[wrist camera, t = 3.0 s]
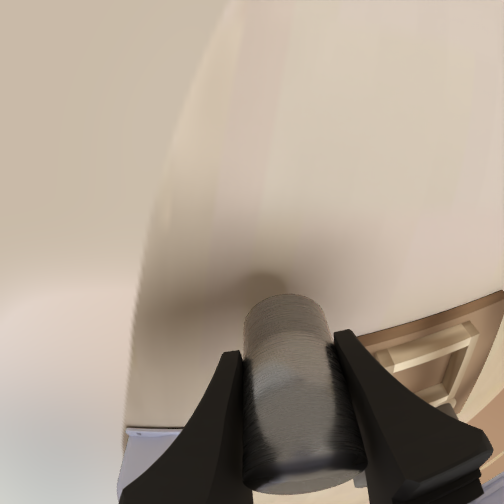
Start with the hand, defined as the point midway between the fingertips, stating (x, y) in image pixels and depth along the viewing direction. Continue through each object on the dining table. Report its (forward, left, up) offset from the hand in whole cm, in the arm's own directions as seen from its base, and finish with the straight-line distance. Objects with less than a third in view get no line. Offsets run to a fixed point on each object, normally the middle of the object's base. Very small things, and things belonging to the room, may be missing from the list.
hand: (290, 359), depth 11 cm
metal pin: (0, 0, -2) cm, 2 cm away
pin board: (+9, -13, -5) cm, 17 cm away
